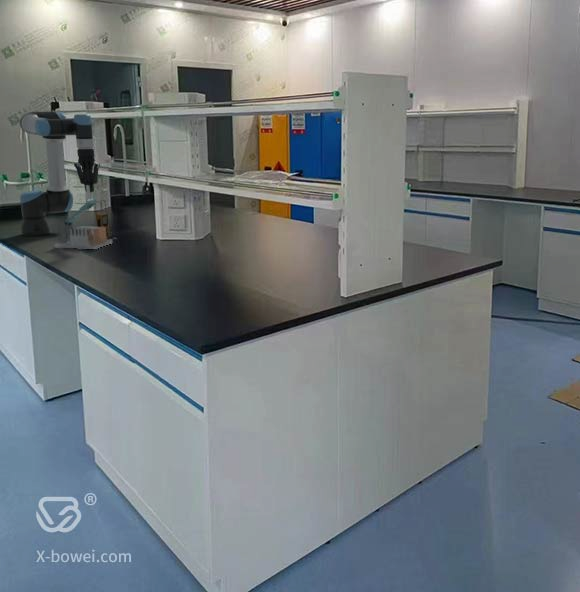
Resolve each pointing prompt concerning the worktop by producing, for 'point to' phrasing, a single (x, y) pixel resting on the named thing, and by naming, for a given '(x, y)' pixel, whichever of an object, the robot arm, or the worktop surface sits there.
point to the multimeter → (103, 221)
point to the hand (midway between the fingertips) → (90, 198)
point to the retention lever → (81, 211)
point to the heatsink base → (83, 237)
